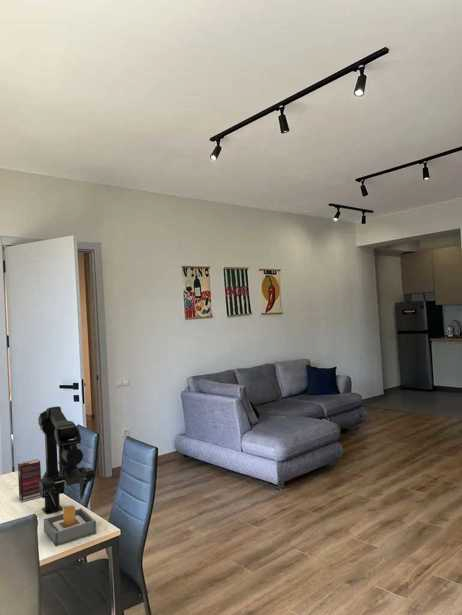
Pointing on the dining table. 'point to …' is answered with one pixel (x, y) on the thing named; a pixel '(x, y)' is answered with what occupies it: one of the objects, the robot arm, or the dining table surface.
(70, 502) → the dining table surface
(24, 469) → the supplement box
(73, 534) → the inlet box
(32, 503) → the dining table surface
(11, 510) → the dining table surface
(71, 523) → the plug
